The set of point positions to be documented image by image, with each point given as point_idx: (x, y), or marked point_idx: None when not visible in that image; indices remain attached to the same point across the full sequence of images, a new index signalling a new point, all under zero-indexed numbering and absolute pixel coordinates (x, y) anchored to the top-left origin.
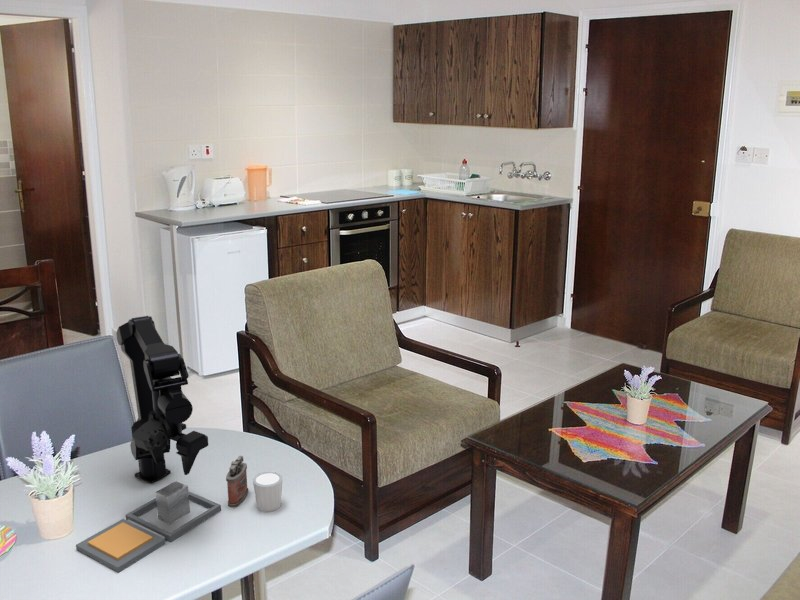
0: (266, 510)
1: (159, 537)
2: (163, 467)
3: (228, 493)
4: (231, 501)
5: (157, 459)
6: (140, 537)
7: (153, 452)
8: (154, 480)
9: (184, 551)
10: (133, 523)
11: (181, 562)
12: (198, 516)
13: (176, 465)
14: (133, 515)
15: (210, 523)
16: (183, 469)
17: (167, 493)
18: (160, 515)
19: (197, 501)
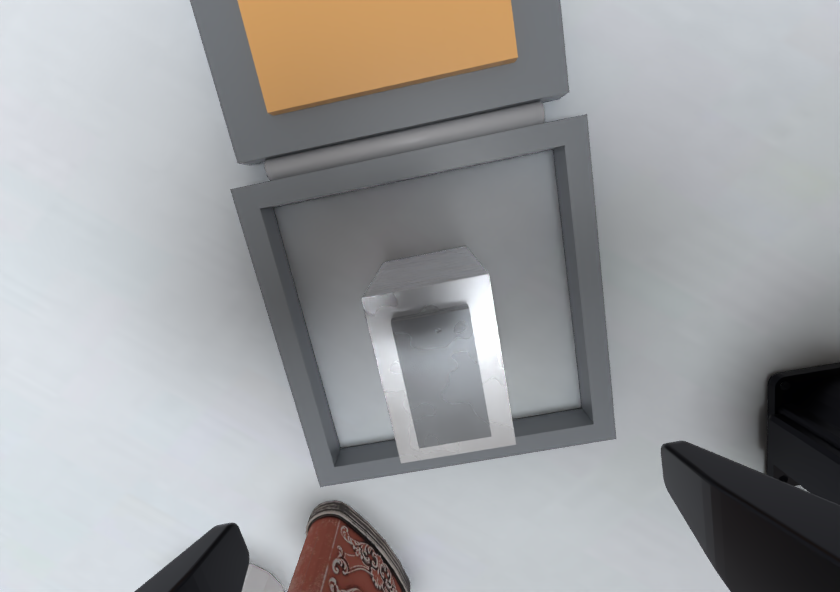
0: None
1: (267, 149)
2: (807, 478)
3: (319, 556)
4: (314, 528)
5: (698, 493)
6: (304, 56)
7: (830, 563)
8: (772, 397)
9: (138, 199)
10: (491, 117)
11: (64, 144)
12: (300, 374)
13: None
14: (545, 145)
15: (269, 389)
16: (177, 578)
17: (392, 321)
18: (446, 254)
19: None
